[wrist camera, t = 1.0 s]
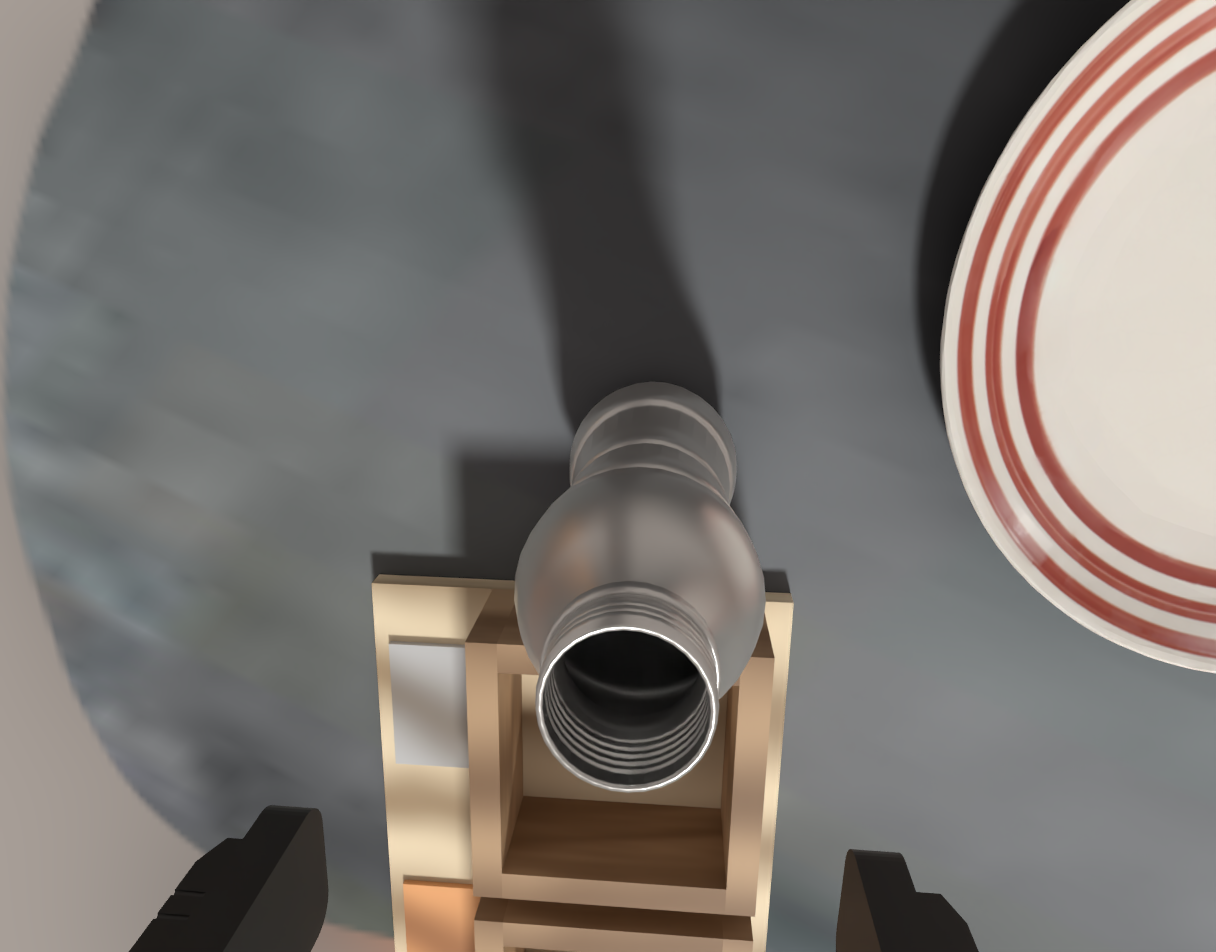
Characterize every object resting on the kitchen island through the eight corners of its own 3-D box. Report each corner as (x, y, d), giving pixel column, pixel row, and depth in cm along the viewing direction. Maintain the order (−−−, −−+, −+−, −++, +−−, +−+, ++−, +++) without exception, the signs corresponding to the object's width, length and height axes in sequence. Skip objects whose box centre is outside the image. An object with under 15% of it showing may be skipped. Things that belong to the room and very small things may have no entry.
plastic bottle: (734, 369, 35) (802, 542, 15) (732, 529, 36) (791, 863, 17) (574, 372, 35) (446, 542, 16) (580, 529, 37) (472, 852, 18)
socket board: (379, 574, 38) (326, 635, 32) (790, 593, 37) (810, 660, 31) (405, 1004, 45) (365, 1118, 39) (755, 1033, 43) (767, 1155, 38)
